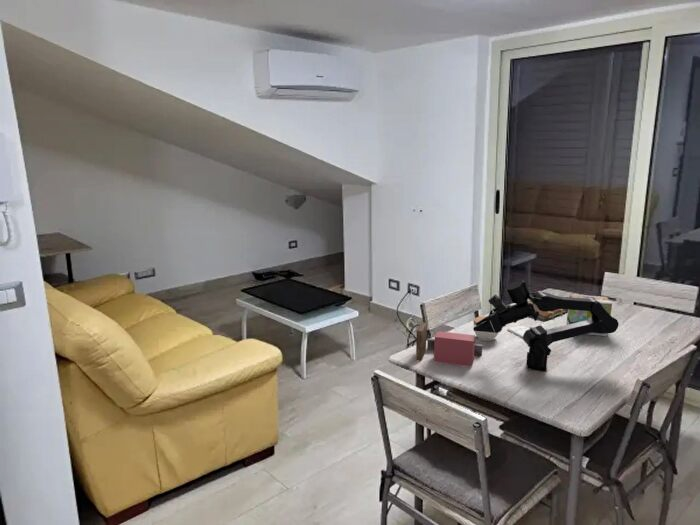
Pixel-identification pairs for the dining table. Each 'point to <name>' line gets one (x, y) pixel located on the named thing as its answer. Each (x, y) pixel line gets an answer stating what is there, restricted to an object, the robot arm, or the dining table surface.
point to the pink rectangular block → (454, 348)
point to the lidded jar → (484, 335)
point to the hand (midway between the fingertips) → (475, 327)
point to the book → (548, 313)
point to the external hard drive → (518, 330)
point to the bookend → (432, 343)
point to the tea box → (580, 315)
